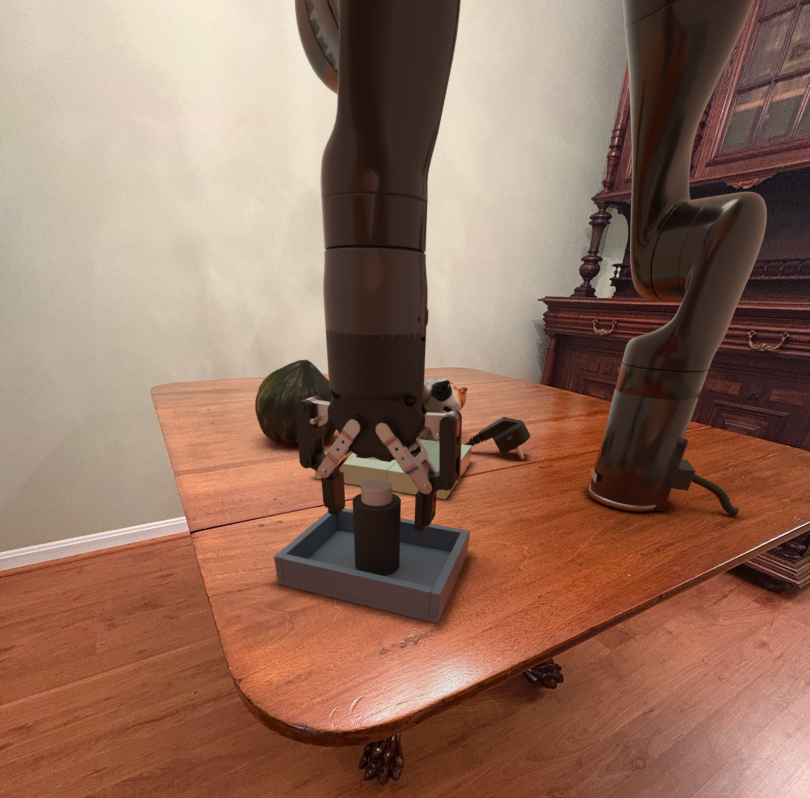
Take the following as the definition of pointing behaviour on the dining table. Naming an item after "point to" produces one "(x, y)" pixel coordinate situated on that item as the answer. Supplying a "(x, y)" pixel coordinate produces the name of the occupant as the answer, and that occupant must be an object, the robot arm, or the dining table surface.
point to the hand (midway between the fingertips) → (378, 519)
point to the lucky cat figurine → (441, 400)
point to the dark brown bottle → (377, 528)
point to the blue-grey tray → (398, 592)
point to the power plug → (504, 435)
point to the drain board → (396, 469)
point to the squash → (290, 399)
